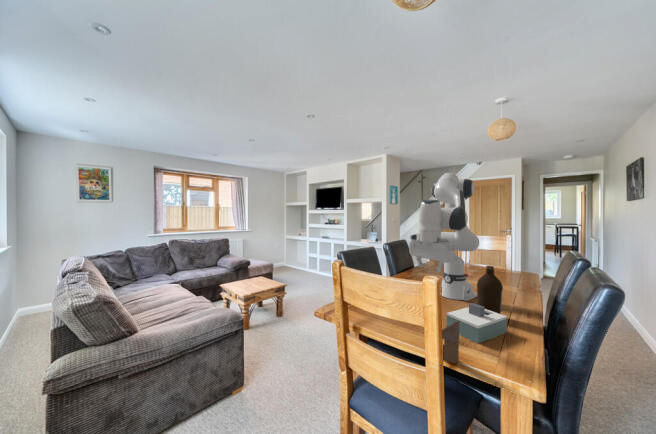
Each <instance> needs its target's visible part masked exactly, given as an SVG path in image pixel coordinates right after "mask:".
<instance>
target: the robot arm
mask: <svg viewBox="0 0 656 434" xmlns="http://www.w3.org/2000/svg"><path fill="white" fill-rule="evenodd" d="M475 189H476V187H475V184H474V182H473V180H472V179H468V178H464V179H462V178H460V179H459V177H458V175H457V174H455V173H454V172H445V173H444V174H442V175H441V176H440V177H439V178H438V180H437V181H434V182H433V183H432V187H431V194H432V197H434V198H435V199H426V200H423V201H421V203H420V206H419V207H420V209H419V225H420V226H419V229H418V232H417V233H414V234H413V233H412V234H410V235H409V238H410V241H409V248H408V249H409V250H408V251H409V254H410V256H412V257H415V260H416V261H417V266H418V267H419V268H423V267H424V263H423V261H422V259H427V260H433V261H437V264H438V265H437V266H436V267H435V271H436V272H438V273H441V272H442V270H443V272H442V277H443V278H442V279H441V286H440V287H442V295H441V296H442V297H444V298H447V299H451V300H459V301H465V302H469V301H471V300H473V299H475V298H477V292H476V293H475V292H474V286H473V285H472V283H470V282H469V281H468V280H467V278H469V276H470V275H469V274H468V273H465V261H464V260H463V258H462V257H460V256H458V255H456V254H455V252H454V251H457V252H474V251H477V249H478V248H479V246H480V239H479V236H477V235H476V234H475V233H474V232H472V231H471V229H469V227H468V225H467V224H468V214H467V211H466V201H467V200H468V198H471V197H472V196H473V195H474V193H475ZM441 203H442V204H444V207H442V206H441ZM442 230H451V232H450V231H442ZM452 231H453V232H452ZM454 231H455V232H454Z"/></svg>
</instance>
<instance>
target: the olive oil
mask: <svg viewBox="0 0 656 434" xmlns="http://www.w3.org/2000/svg"><path fill="white" fill-rule="evenodd" d="M494 268H495V266H494V265H486V268H485V274H483V275H482V276H481V277H479V279H478V280H477V283H476V291H477V292H476V294H477V297H476V298H477V304H478V305H481V306H484V307H485V309H487V310H490V311H493V312H496V313H498V314H501V313H502V303H503V301H502V300H503V289H504V287H503V284H502V281H501V280H500V279H499V278H498V276H496V275H495V269H494ZM501 315H502V314H501Z"/></svg>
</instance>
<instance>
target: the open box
mask: <svg viewBox="0 0 656 434" xmlns="http://www.w3.org/2000/svg"><path fill="white" fill-rule="evenodd" d="M484 314H485V315H490V314H488V313H484ZM456 321H458V320H457V319H455V318H452V317H450V316H448V315H447V314H446V327H448V326H450V325H451V324H453V323H455V322H456ZM507 324H508V318H507V319H505V320H502V321H499V322H496V323H493V324H490V325H487V326H484V327H481V328H476V327H474V326H471V325H469V324H467V323H464V322H462V321H459V336H461V337H464V338H465V339H468V340H470V341H472V342H474V343H476V344H481V343H483V342H486V341H490V340H491V339H494V338H497V337H499V336H502V335H504V334H506V333H507V332H508V331H507V329H508V325H507Z"/></svg>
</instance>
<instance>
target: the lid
mask: <svg viewBox="0 0 656 434" xmlns="http://www.w3.org/2000/svg"><path fill="white" fill-rule="evenodd" d="M484 313H488V314H490V315H485V314H484ZM447 315H448V316H450V317H452V318H455V319H457V320H459V321H462V322H464V323H467V324H469V325H471V326H474V327H476V328H481V327H484V326H487V325H490V324H493V323H496V322H499V321H502V320H505V319H507V320H508V316H507V315H504V314H498V313H496V312H493V311H490V310H487V309H485V307H484V306H481V305H478V303H474V302H472V303H469V304H468V307H467V306H466V307H463V308H460V309H457V310H453V311H449V312H446V316H447Z"/></svg>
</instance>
